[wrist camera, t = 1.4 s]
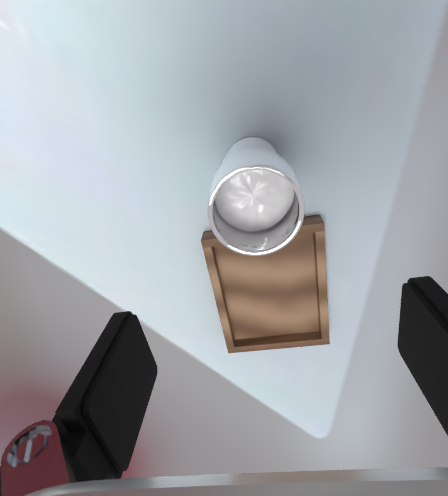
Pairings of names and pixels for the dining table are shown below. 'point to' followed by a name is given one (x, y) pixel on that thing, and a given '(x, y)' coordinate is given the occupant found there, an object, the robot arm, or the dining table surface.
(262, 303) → the walnut tray
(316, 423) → the dining table surface
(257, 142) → the beer glass
